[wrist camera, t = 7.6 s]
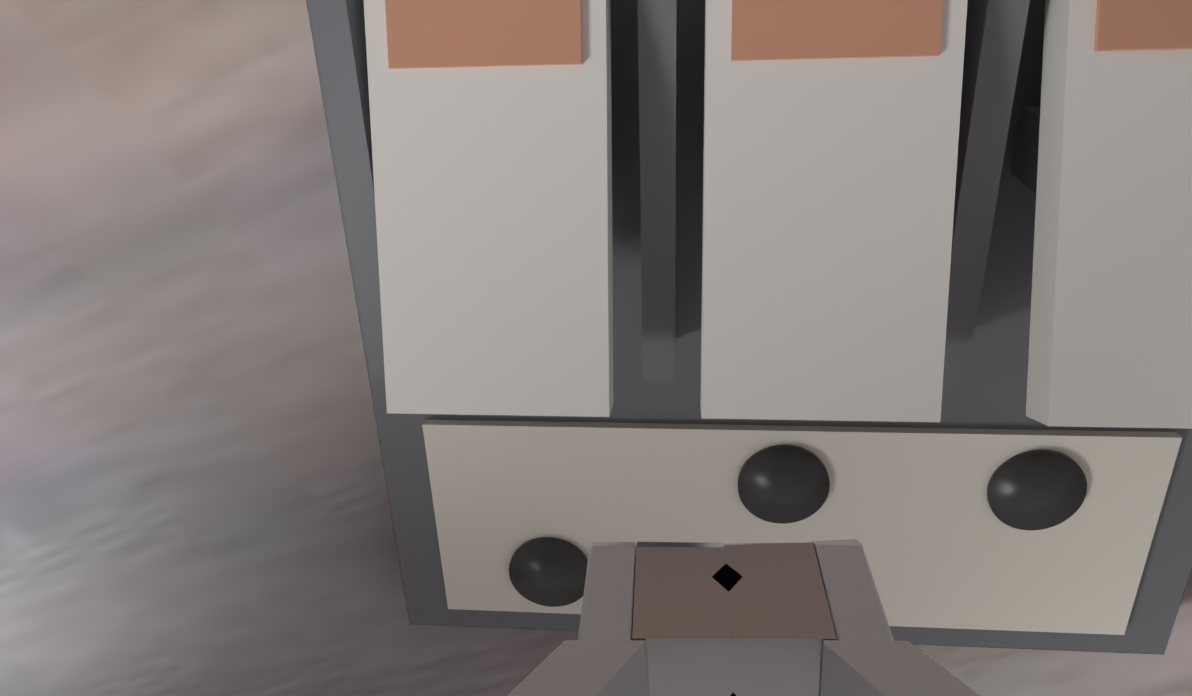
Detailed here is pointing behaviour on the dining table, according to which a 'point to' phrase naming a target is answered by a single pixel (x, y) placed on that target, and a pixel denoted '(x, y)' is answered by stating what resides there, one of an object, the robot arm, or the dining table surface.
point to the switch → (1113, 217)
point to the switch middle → (828, 207)
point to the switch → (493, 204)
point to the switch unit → (781, 447)
